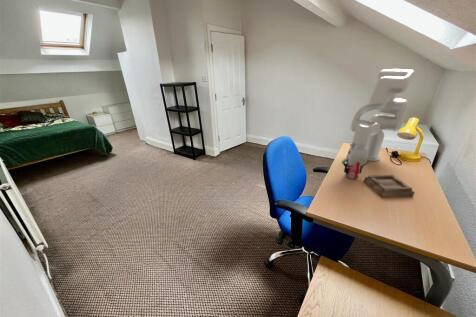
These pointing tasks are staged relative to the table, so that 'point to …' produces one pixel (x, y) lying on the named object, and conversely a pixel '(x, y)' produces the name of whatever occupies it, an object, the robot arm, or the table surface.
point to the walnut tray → (388, 186)
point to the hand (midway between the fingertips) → (352, 172)
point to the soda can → (354, 170)
